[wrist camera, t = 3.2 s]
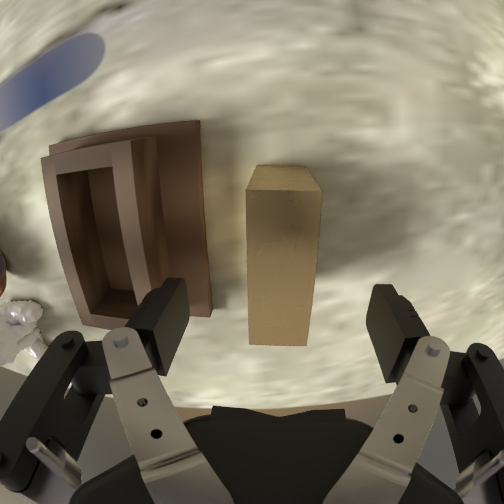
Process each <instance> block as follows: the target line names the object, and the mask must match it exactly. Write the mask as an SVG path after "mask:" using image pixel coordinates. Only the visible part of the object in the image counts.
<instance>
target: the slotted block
mask: <svg viewBox="0 0 504 504" xmlns="http://www.w3.org/2000/svg"><path fill="white" fill-rule="evenodd" d="M49 154H50V156H47V157H43V158H41V164H42V172H43V180H44V186H45V192H46V198H47V204H48V209H49V214H50V219H51V223H52V228H53V232H54V236H55V240H56V244H57V248H58V252H59V256H60V259H61V263H62V266H63V269H64V273H65V276H66V279H67V282H68V285H69V288H70V291H71V294H72V297H73V300H74V303H75V305H76V308H77V311H78V313H79V316H80V319H81V321H82V324H83V325H86V326H91V327H97V328H103V329H109V330H114V329H116V328H121V327H124V326H125V325H126V323H127V322H128V320H129V319H130V317H131V316H132V314H133V313H134V312H135V310H136V309H138V306H139V304H140V303H142V300H143V298H144V297H145V295H146V294H147V293H149V292H150V291H151V290H153V289H154V288H160V287H161V285H162V284H163V282H164V281H165V279H166V278H167V277H171V278H184V279H185V281H186V286H187V294H188V301H189V308H190V316H196V317H211V313H212V310H213V308H212V299H211V289H210V278H209V267H208V256H207V244H206V231H205V217H204V202H203V186H202V167H201V144H200V121H199V120H194V121H183V122H173V123H164V124H155V125H148V126H141V127H134V128H128V129H122V130H116V131H110V132H105V133H100V134H95V135H90V136H86V137H81V138H77V139H73V140H69V141H65V142H61V143H57V144H53V145H49Z"/></svg>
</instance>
